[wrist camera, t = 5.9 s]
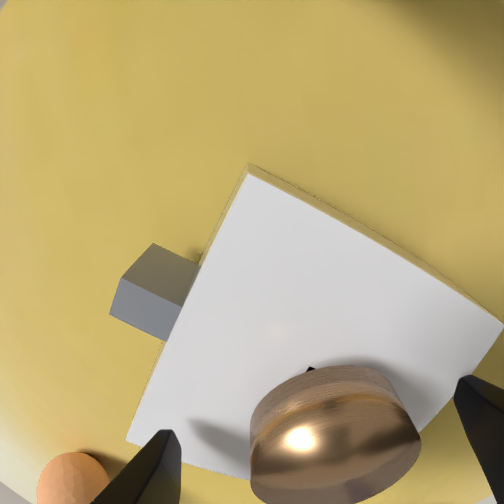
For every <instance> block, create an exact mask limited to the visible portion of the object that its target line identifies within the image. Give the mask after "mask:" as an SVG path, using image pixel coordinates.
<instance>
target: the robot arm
mask: <svg viewBox="0 0 504 504" xmlns="http://www.w3.org/2000/svg"><path fill="white" fill-rule="evenodd" d="M453 398H454V403H455V406H456V408H457V411H458V414H459V416H460V419H461V422H462V424H463V427H464V430H465V433H466V435H467V438H468V440H469V442H470V444H471V446H472V448H473V450H474V452H475V454H476V456H477V459H478V461H479V463H480V465H481V467H482V469H483V472H484V474H485V476H486V478H487V480H488V483H489V485H490V487H491V490H492V492H493V494H494V497H495V499H496V501H497V504H504V389H501V388H499V387H497V386H495V385H493V384H491V383H488V382H486V381H484V380H482V379H480V378H478V377H475V376H473V375H470V374H469V375H466V376H463V377H461V378H459V380H458V382H457V386H456V389H455V392H454V397H453ZM181 458H182V449H181V445H180V443H179V441H178V439H177V437H176V434H175V432H174V431H173V430H172V429H160V430H158V431H157V432H156V434H155V435H154V436H153V437H152V438H151V439H150V440H149V441H148V442H147V443H146V445H145V446H144V447H143V448H142V449H141V450H140V451H139V452H138V453H137V454H136V455H135V456H134V458H133V459H132V460H131V461H130V462H129V463H128V464H127V465H126V466H125V467H124V468H123V469H122V470H121V471H120V472H119V474H118V475H117V476H116V477H115V478H114V479H113V480H112V481H111V482H110V483H109V484H108V485H107V486H106V487H105V488H104V489H103V490H102V491H101V492H100V493H99V494H98V495H97V496H96V497H95V498H94V501H91V502H90V503H89V504H179V500H180V492H181Z"/></svg>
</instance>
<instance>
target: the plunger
mask: <svg viewBox="0 0 504 504" xmlns="http://www.w3.org/2000/svg"><path fill="white" fill-rule="evenodd" d="M420 449H421V439H420V436H419V434H418V432H417V430H416V428H415V426H414V424H413V422H412V420H411V418H410V416H409V414H408V413H407V411H406V409H405V407H404V405H403V403H402V401H401V399H400V397H399V396H398V394H397V392H396V390H395V388H394V386H393V385H392V383H391V382H390V381H389V380H388V379H387V378H386V377H385V376H384V375H382V374H381V373H379V372H377V371H375V370H373V369H369V368H366V367H361V366H354V365H339V366H329V367H323V368H319V369H316V368H313V367H311V366H309V368H308V369H307V370H306V372H305V373H302V374H299V375H297V376H295V377H293V378H290V379H288V380H287V381H285V382H283V383H281V384H280V385H278V386H277V387H275V388H274V389H273V390H271V391H270V392H269V393H268V394H267V395H266V396H264V397H263V399H262V400H261V401H260V402H259V403H258V405H257V406H256V408H255V409H254V411H253V414H252V416H251V420H250V481H251V488H252V491H253V492H254V494H255V495H256V496H257V497H258V498H259V499H260V500H262V501H263V502H265V503H266V504H355V503H358V502H361V501H363V500H366V499H368V498H370V497H372V496H374V495H376V494H378V493H380V492H382V491H384V490H385V489H387V488H388V487H390V486H391V485H393V484H394V483H395V482H397V481H398V480H399V479H400V478H401V477H403V476H404V475H405V474H406V473H407V472H408V471H409V470H410V468H411V467H412V466H413V464H414V463H415V461H416V460H417V458H418V456H419V453H420Z"/></svg>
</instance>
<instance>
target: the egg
mask: <svg viewBox="0 0 504 504" xmlns="http://www.w3.org/2000/svg"><path fill="white" fill-rule="evenodd" d="M109 483H110V480H109V478H108V476H107V473H106V471H105V470H104V468H103V467H102V466H101V465H100V463H99V462H98V461H97V460H96V459H94V458H93V457H91V456H89V455H87V454H84V453H79V452H71V453H64V454H62V455H59V456H57V457H55V458H54V459H53V460H51V461H50V462H49V463H48V464H47V465H46V467H45V468H44V470H43V471H42V473H41V476H40V478H39V482H38V486H37V504H89V503H90V502H91V501H94V498H95V497H96V496H97V495H98V494H99V493H100V492H101V491H102V490H103V489H104V488H105V487H106V486H107V485H108V484H109Z"/></svg>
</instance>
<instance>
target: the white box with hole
mask: <svg viewBox="0 0 504 504" xmlns="http://www.w3.org/2000/svg"><path fill="white" fill-rule="evenodd" d="M109 314H110V315H112V316H113V317H115V318H117V319H119V320H121V321H123V322H125V323H127V324H129V325H131V326H133V327H136V328H138V329H140V330H142V331H144V332H146V333H148V334H150V335H152V336H154V337H157V338H159V339H161V340H163V342H162V345H161V347H160V350H159V352H158V355H157V357H156V360H155V362H154V365H153V367H152V370H151V373H150V375H149V378H148V380H147V383H146V385H145V388H144V391H143V393H142V396H141V399H140V401H139V404H138V407H137V409H136V412H135V415H134V417H133V420H132V423H131V426H130V428H129V431H128V434H127V437H126V439H125V440H126V441H128V442H131V443H133V444H136V445H138V446H140V447H144V446H145V445H146V443H147V442H148V441H149V440H150V439H151V438H152V437H153V436H154V435H155V434H156V432H157V431H158V430H160V429H172V430H173V431H174V432H175V434H176V437H177V439H178V441H179V443H180V445H181V449H182V458H181V462H184V463H187V464H190V465H193V466H197V467H200V468H203V469H207V470H210V471H214V472H217V473H221V474H225V475H228V476H232V477H236V478H241V479H245V480H249V481H250V420H251V416H252V414H253V411H254V409H255V408H256V406H257V405H258V403H259V402H260V401H261V400H262V399H263V397H264V396H266V395H267V394H268V393H269V392H270V391H271V390H273V389H274V388H275V387H277V386H278V385H280V384H281V383H283V382H285V381H287V380H288V379H290V378H293V377H295V376H297V375H299V374H302V373H305V372H306V370H307V369H308V368H309V366H311V367H313V368H316V369H319V368H323V367H329V366H339V365H354V366H361V367H366V368H369V369H373V370H375V371H377V372H379V373H381V374H382V375H384V376H385V377H386V378H387V379H388V380H389V381H390V382H391V383H392V385H393V386H394V388H395V390H396V392H397V394H398V396H399V397H400V399H401V401H402V403H403V405H404V407H405V409H406V411H407V413H408V414H409V416H410V418H411V420H412V422H413V424H414V426H415V428H416V430H417V432H418V433H419V432H420V431H421V430H422V429H423V428H424V427H425V426H426V425H427V424H428V423H429V422H430V421H431V420H432V419H433V418H434V417H435V416H436V415H437V414H438V413H439V411H440V410H441V409H442V408H443V407H444V406H445V405H446V404H447V403H448V401H449V400H450V399H451V398H452V397H453V396H454V392H455V389H456V386H457V382H458V380H459V378H461V377H463V376H466V375H469V374H470V375H471V373H472V372H473V371H474V370H475V368H476V367H477V366H478V364H479V363H480V362H481V360H482V359H483V357H484V356H485V355H486V353H487V352H488V350H489V349H490V348H491V346H492V345H493V343H494V342H495V340H496V339H497V337H498V336H499V334H500V333H501V331H502V330H503V328H504V324H503V323H502V322H501V321H500V320H498V319H497V318H496V317H495V316H494V315H492V314H491V313H490V312H489V311H488V310H486V309H485V308H484V307H483V306H481V305H480V304H479V303H478V302H476V301H475V300H474V299H473V298H471V297H470V296H469V295H468V294H466V293H465V292H464V291H462V290H461V289H460V288H459V287H457V286H456V285H455V284H453V283H452V282H451V281H449V280H448V279H447V278H445V277H444V276H443V275H441V274H440V273H439V272H437V271H436V270H435V269H433V268H432V267H431V266H429V265H428V264H426V263H425V262H423V261H422V260H420V259H419V258H417V257H416V256H414V255H412V254H411V253H409V252H408V251H406V250H404V249H403V248H401V247H400V246H398V245H396V244H395V243H393V242H391V241H390V240H388V239H387V238H385V237H383V236H382V235H380V234H378V233H377V232H375V231H373V230H371V229H370V228H368V227H366V226H365V225H363V224H361V223H360V222H358V221H356V220H354V219H353V218H351V217H349V216H347V215H346V214H344V213H342V212H340V211H339V210H337V209H335V208H333V207H331V206H330V205H328V204H326V203H324V202H322V201H321V200H319V199H317V198H315V197H313V196H311V195H310V194H308V193H306V192H304V191H302V190H300V189H298V188H296V187H295V186H293V185H291V184H289V183H287V182H285V181H283V180H281V179H279V178H277V177H275V176H273V175H271V174H270V173H268V172H266V171H264V170H262V169H260V168H258V167H256V166H254V165H252V164H250V163H248V164H247V165H246V167H245V169H244V171H243V173H242V175H241V177H240V179H239V181H238V183H237V185H236V187H235V189H234V191H233V193H232V195H231V197H230V199H229V201H228V203H227V205H226V207H225V209H224V211H223V213H222V215H221V217H220V219H219V221H218V224H217V226H216V228H215V230H214V232H213V234H212V236H211V238H210V240H209V242H208V244H207V246H206V248H205V251H204V253H203V255H202V257H201V259H200V261H199V263H198V264H196V263H194V262H192V261H190V260H188V259H185V258H183V257H181V256H179V255H177V254H175V253H173V252H171V251H169V250H167V249H165V248H162V247H160V246H158V245H156V244H154V243H153V244H152V245H151V246H150V247H149V248H148V249H147V250H146V251H145V252H144V253H143V254H142V255H141V256H140V257H139V258H138V259H137V261H136V262H135V263H134V264H133V265H132V266H131V267H130V268H129V269H128V270H127V271H126V272H125V274H124V275H123V276H122V277H121V279H120V282H119V285H118V288H117V291H116V294H115V297H114V300H113V303H112V306H111V309H110V313H109Z"/></svg>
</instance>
